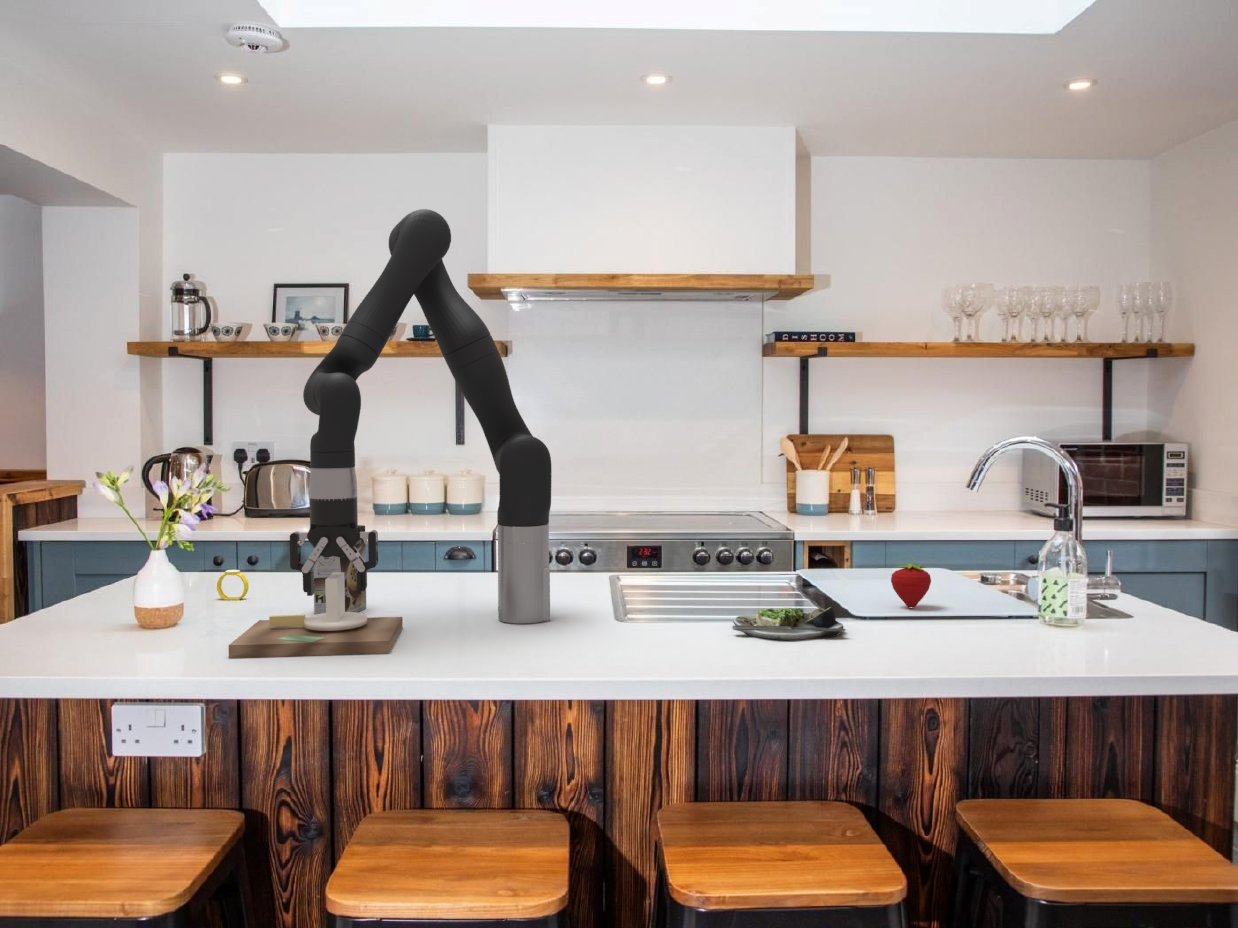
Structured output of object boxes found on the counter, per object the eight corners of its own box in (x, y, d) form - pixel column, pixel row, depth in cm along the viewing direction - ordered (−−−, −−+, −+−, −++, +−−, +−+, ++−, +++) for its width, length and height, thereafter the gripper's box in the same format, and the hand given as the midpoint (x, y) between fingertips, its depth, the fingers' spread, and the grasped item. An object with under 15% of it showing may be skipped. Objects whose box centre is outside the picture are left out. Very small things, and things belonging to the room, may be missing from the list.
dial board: (402, 628, 169) (402, 616, 169) (389, 653, 151) (389, 640, 151) (259, 631, 166) (259, 619, 166) (228, 658, 148) (228, 644, 148)
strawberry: (885, 605, 187) (886, 553, 187) (923, 604, 188) (924, 553, 187) (896, 611, 182) (897, 558, 181) (936, 610, 182) (936, 557, 182)
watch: (249, 599, 197) (251, 570, 197) (243, 602, 194) (245, 572, 194) (220, 597, 197) (222, 568, 197) (214, 600, 194) (215, 570, 194)
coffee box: (345, 618, 177) (343, 530, 176) (313, 616, 179) (311, 529, 178) (368, 608, 186) (366, 524, 185) (337, 607, 187) (335, 523, 187)
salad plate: (754, 649, 154) (754, 620, 154) (708, 626, 171) (708, 600, 171) (860, 639, 161) (860, 611, 160) (806, 618, 178) (806, 593, 177)
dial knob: (371, 616, 166) (370, 570, 166) (362, 629, 156) (361, 580, 156) (277, 619, 165) (276, 572, 164) (262, 632, 155) (261, 582, 154)
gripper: (381, 492, 164) (382, 589, 165) (293, 493, 163) (295, 591, 163) (374, 496, 157) (376, 597, 157) (283, 497, 155) (285, 599, 156)
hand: (335, 594), depth 160 cm, fingers open, 7 cm apart
